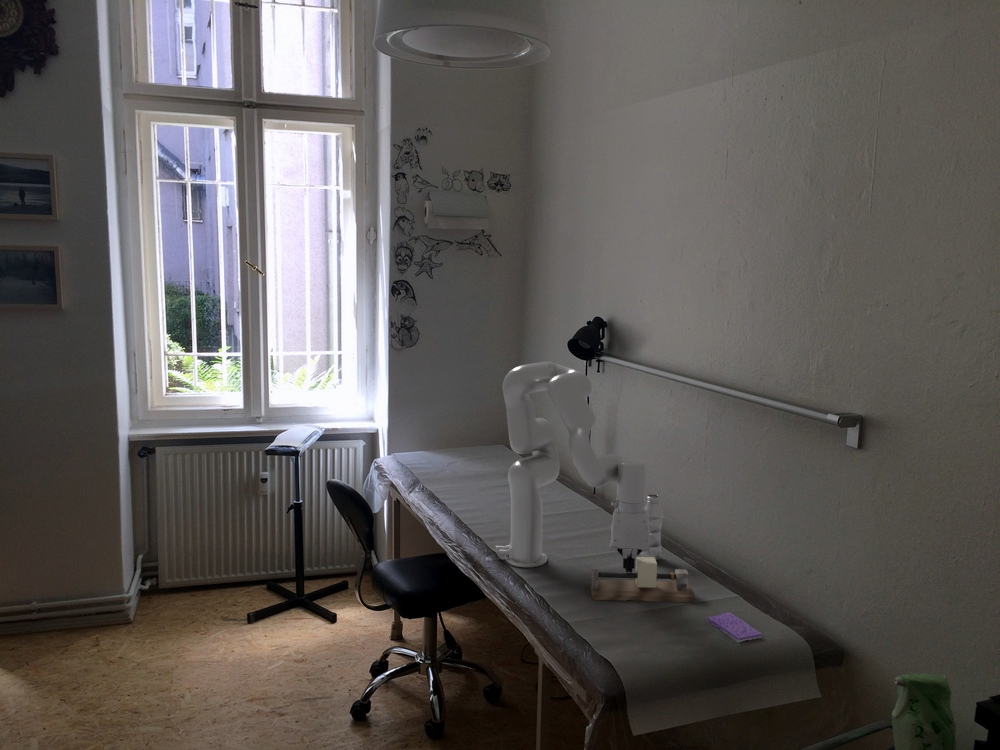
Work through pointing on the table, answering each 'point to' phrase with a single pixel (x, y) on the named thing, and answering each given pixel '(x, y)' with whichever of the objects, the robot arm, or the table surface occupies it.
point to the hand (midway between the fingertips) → (628, 570)
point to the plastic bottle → (654, 527)
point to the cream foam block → (646, 572)
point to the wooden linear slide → (632, 592)
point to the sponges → (734, 626)
